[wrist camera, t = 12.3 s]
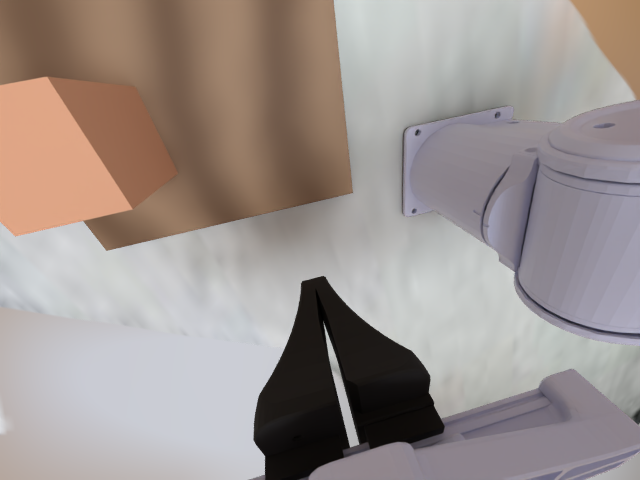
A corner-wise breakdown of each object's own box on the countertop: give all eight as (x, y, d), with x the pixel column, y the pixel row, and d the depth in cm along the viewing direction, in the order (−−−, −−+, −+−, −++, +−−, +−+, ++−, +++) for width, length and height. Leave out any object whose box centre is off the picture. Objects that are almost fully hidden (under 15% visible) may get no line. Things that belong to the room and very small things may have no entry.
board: (323, -43, 14) (327, -55, 13) (348, 188, 21) (352, 192, 20) (-54, 16, 12) (-84, 8, 11) (115, 242, 20) (106, 250, 18)
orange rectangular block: (135, 86, 14) (46, 76, 8) (178, 173, 17) (132, 209, 11) (42, 104, 14) (-115, 106, 8) (101, 190, 16) (15, 236, 11)
